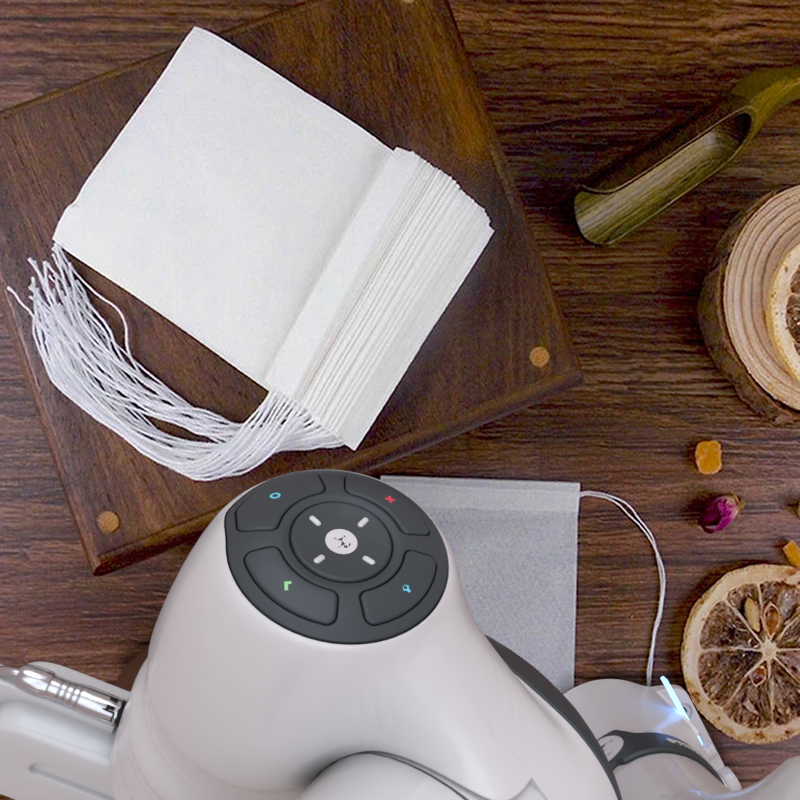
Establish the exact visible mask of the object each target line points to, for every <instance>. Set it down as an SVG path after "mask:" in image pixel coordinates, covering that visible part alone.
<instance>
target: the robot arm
mask: <svg viewBox="0 0 800 800" xmlns="http://www.w3.org/2000/svg"><path fill="white" fill-rule="evenodd" d="M148 646H149V650H148V657H147V659H146V660H145V662H144V663H143V665H142V666H141V668H140V670H139V672H138V674H137V676H136V678H135V681H134V684H133V687H132V690H131V692H129V691H127V690H124V689H121V688H119V687H116V686H114V684H111V683H110V682H109V683H108V682H106V681H104V680H100V679H99V678H96V677H93V676H90V675H88V674H85V673H83V672H80V671H79V670H75V669H73V668H70V667H67V666H64V665H61V664H57V663H54V662H49V661H31V662H28V663H24V664H23V666H21V667H20V668H18V667H14V666H9V665H7V666H6V665H4V664H1V663H0V795H1V796H5V797H7V798H9V799H12V800H800V755H796V756H792V757H789V758H786V759H785V760H784V761H783V762H781V764H780V765H778V766H777V767H776V768H775V769H774V770H773V771H771V772H770V773H769V774H767V775H766V776H764V777H763V778H761V779H760V780H758V781H757V782H755V783H753V784H751V785H749V786H747V787H742V784H741V782H740V781H739V779H738V778H737V776H736V775H735V773H734V772H733V771H732V769H731V768H730V767H729V766H727V765H726V766H725V763H724V762H723V760H722V758H721V756H720V754H719V752H718V749H717V748H716V746H715V744H714V743H713V740H712V737H711V736H710V734H709V732H708V731H707V728H706V726H705V725H704V723H703V721H702V719H701V716H700V715H699V713H698V710H697V708H696V707H695V705H694V703H693V701H692V699H691V697H690V695H689V694H688V693H687V691H686V690H685V689H684V688H683V687H682V686H681V685H678V684H673V683H672V684H671V683H670V681H669V680H668V679H667V678H666V677H665V676H664V675H662V676H661V677H660V680H661V682H662V684H660V685H652V686H647V685H643V684H639V683H636V682H633V681H629V680H625V679H620V678H619V679H618V678H600V679H594V680H590V681H586V682H583V683H581V684H578V685H577V686H574V687H573V688H571V689H568V690H567V691H566V692H564V693H562V692H561V691H560V690H559V689H558V687H556V686H555V685H554V683H552V681H550V680H549V679H548V678H547V677H546V676H545V675H544V674H543V673H542V672H541V671H540V670H538V669H537V668H536V667H535V666H534V665H533V664H531V663H529V661H527V660H526V659H524V658H523V657H522V656H520V655H519V654H518V653H516V652H515V651H513V650H512V649H510V648H509V647H507V646H505V645H504V644H503V643H500V641H498V640H496V639H494V638H492V637H491V636H489V635H488V634H485V633H484V632H483V631H482V629H481V627H480V626H479V625H478V623H477V621H476V619H475V618H474V615H473V613H472V611H471V609H470V607H469V603H468V602H467V598H466V596H465V592H464V589H463V584H462V580H461V577H460V572H459V567H458V564H457V561H456V557H455V555H454V552H453V549H452V547H451V545H450V543H449V540H448V539H447V537H446V535H445V534H444V532H443V531H442V529H441V527H440V525H438V523H437V522H436V521H435V519H434V518H433V516H431V515H430V514H429V513H428V512H427V511H426V509H424V508H423V507H422V506H421V505H420V504H419V503H417V502H416V501H415V500H414V499H412V498H411V497H410V496H409V495H407V494H406V493H405V492H404V491H402V490H400V489H398V488H397V487H395V486H393V485H391V484H390V483H388V482H385V481H383V480H381V479H378V478H375V477H372V476H369V475H367V474H363V473H359V472H355V471H348V470H342V469H328V468H327V469H326V468H325V469H319V468H318V469H304V470H297V471H292V472H287V473H283V474H280V475H276V476H274V477H271V478H269V479H267V480H264V481H262V482H260V483H258V484H255V485H254V486H252V487H250V488H248V489H246V490H245V491H243V492H242V493H240V494H238V495H237V496H236V497H234V498H233V499H232V500H231V501H229V503H227V504H226V505H225V506H224V507H223V508H222V509H220V511H218V513H217V514H216V515H215V517H214V518H213V519H212V520H211V521H210V522H209V524H208V525H207V527H206V528H205V529H204V530H203V531H202V533H201V535H200V536H199V537H198V539H197V541H196V542H195V544H194V545H193V547H192V548H191V550H190V551H189V553H188V554H187V556H186V558H185V560H184V561H183V563H182V565H181V567H180V569H179V571H178V573H177V575H176V577H175V579H174V581H173V583H172V585H171V587H170V588H169V591H168V593H167V595H166V597H165V600H164V602H163V604H162V607H161V608H160V612H159V614H158V617H157V619H156V621H155V624H154V627H153V630H152V634H151V637H150V641H149V645H148Z"/></svg>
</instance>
